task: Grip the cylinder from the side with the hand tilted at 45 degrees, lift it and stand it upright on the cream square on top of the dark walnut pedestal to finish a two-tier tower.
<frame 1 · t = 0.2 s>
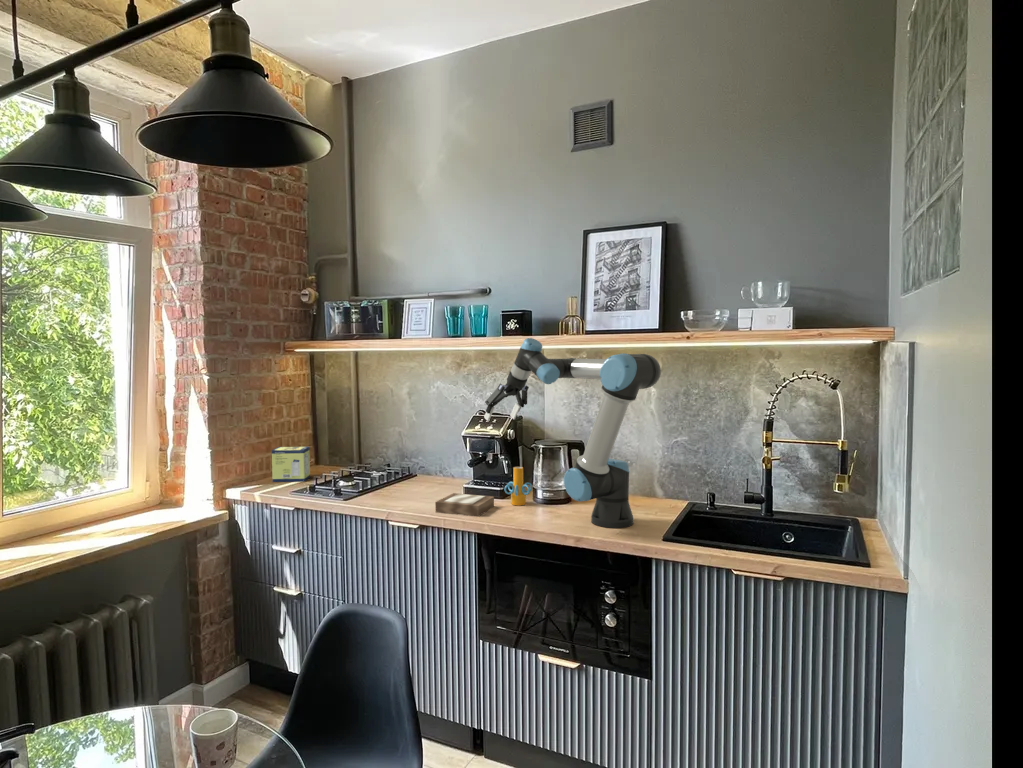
hand: (499, 418, 247), 35 cm above the worktop, tool tilted 35°, fingers open, 13 cm apart
pedestal: (465, 509, 241), on the worktop
cylinder: (518, 504, 249), on the worktop
protein box: (291, 480, 297), on the worktop
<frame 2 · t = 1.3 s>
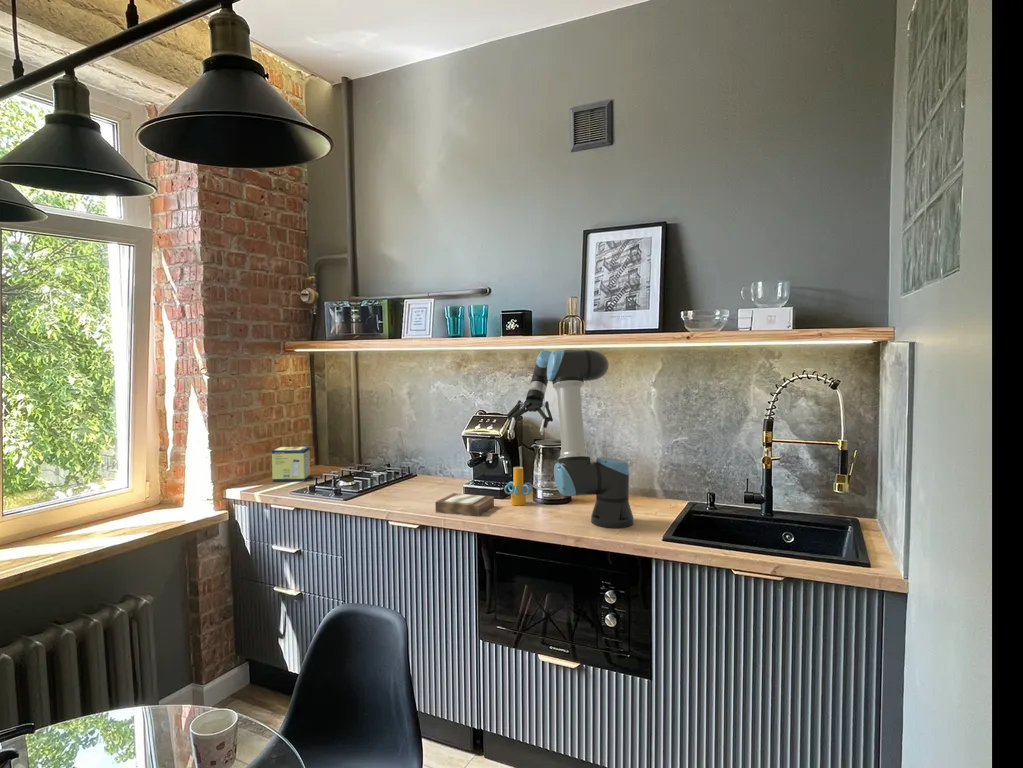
hand: (525, 432, 257), 28 cm above the worktop, tool tilted 45°, fingers open, 13 cm apart
nothing on the worktop moved.
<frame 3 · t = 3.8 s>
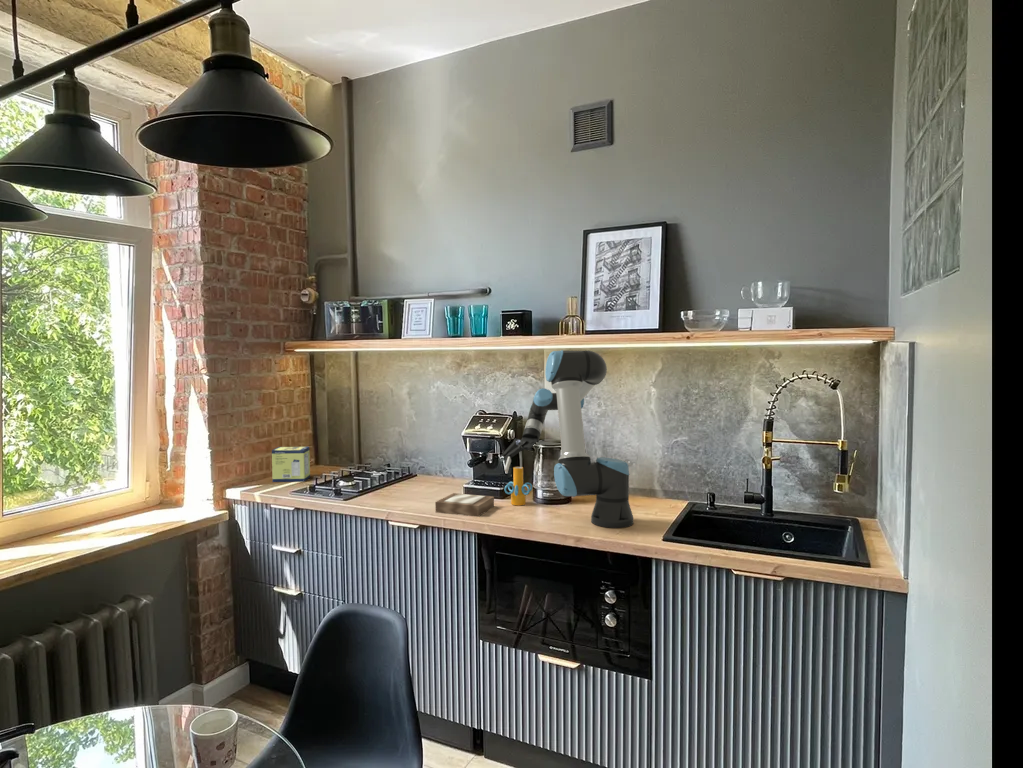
hand: (521, 472, 253), 12 cm above the worktop, tool tilted 45°, fingers open, 13 cm apart
nothing on the worktop moved.
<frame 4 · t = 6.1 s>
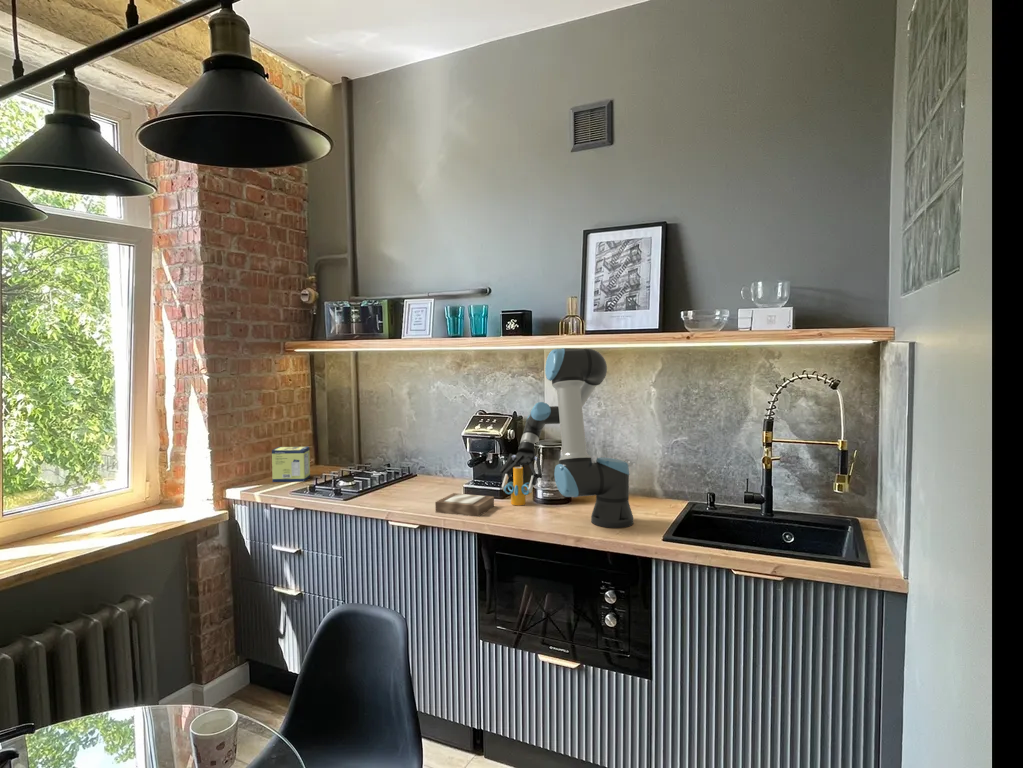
hand: (516, 490, 246), 6 cm above the worktop, tool tilted 45°, fingers closed on cylinder, 11 cm apart
cylinder: (518, 504, 249), on the worktop, touching gripper
everything else where it was.
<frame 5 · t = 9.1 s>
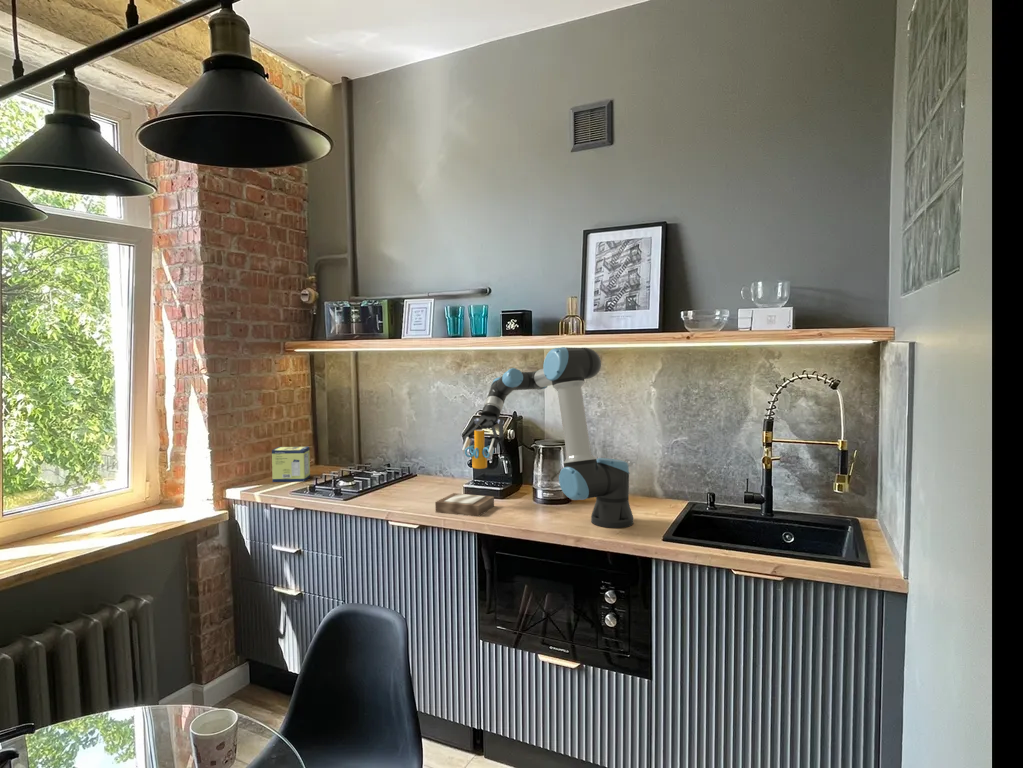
hand: (476, 452, 241), 22 cm above the worktop, tool tilted 45°, fingers closed on cylinder, 11 cm apart
cylinder: (479, 468, 244), point 16 cm above the worktop, touching gripper
everything else where it was.
when the fingers open (12 cm above the worktop, at t = 12.1 s): cylinder drops 1 cm, resting on pedestal.
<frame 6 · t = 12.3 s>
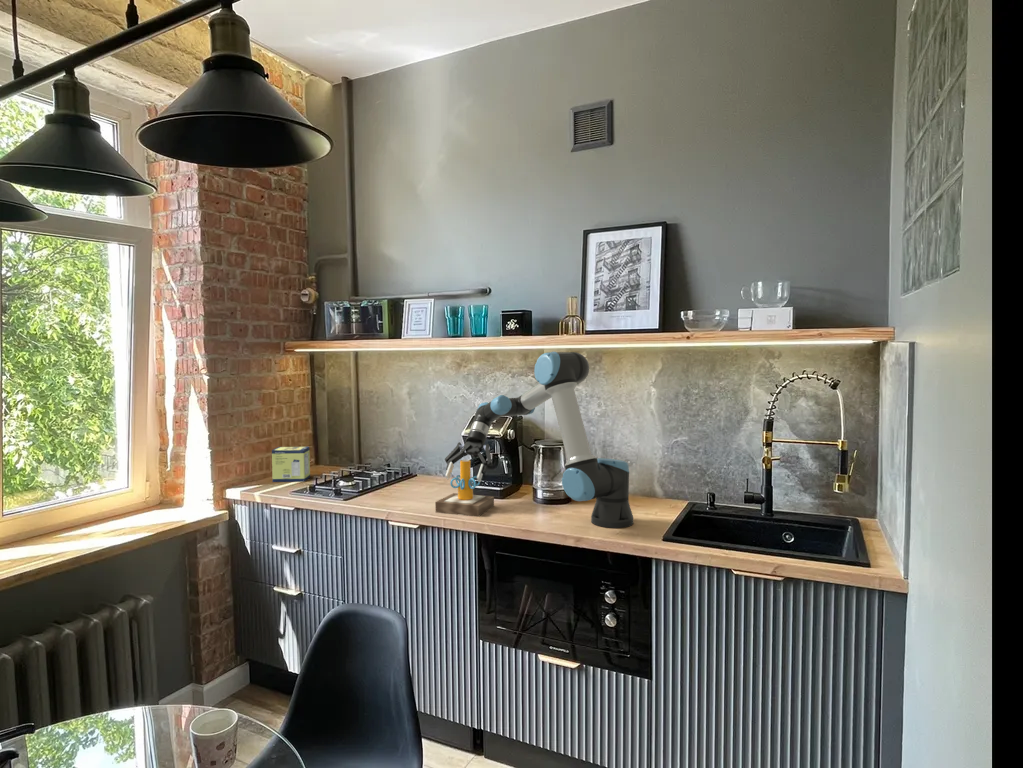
hand: (462, 478, 238), 13 cm above the worktop, tool tilted 45°, fingers open, 13 cm apart
cylinder: (465, 499, 240), point 4 cm above the worktop, touching pedestal
everything else where it was.
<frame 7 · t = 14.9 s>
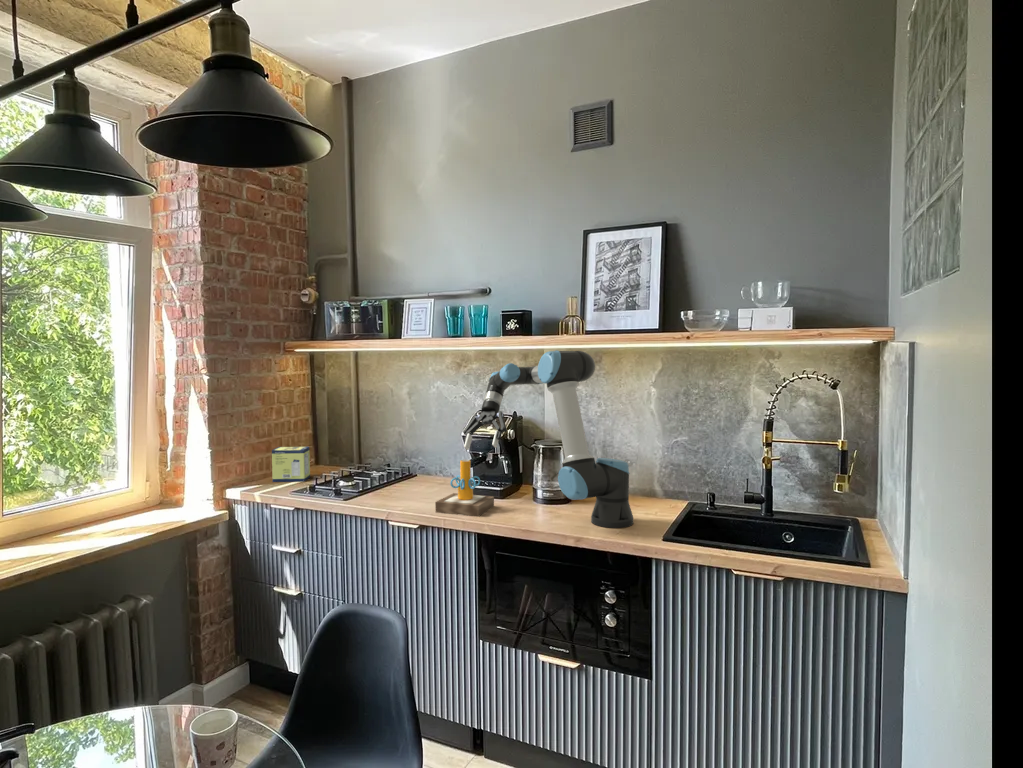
hand: (480, 447, 248), 23 cm above the worktop, tool tilted 40°, fingers open, 13 cm apart
nothing on the worktop moved.
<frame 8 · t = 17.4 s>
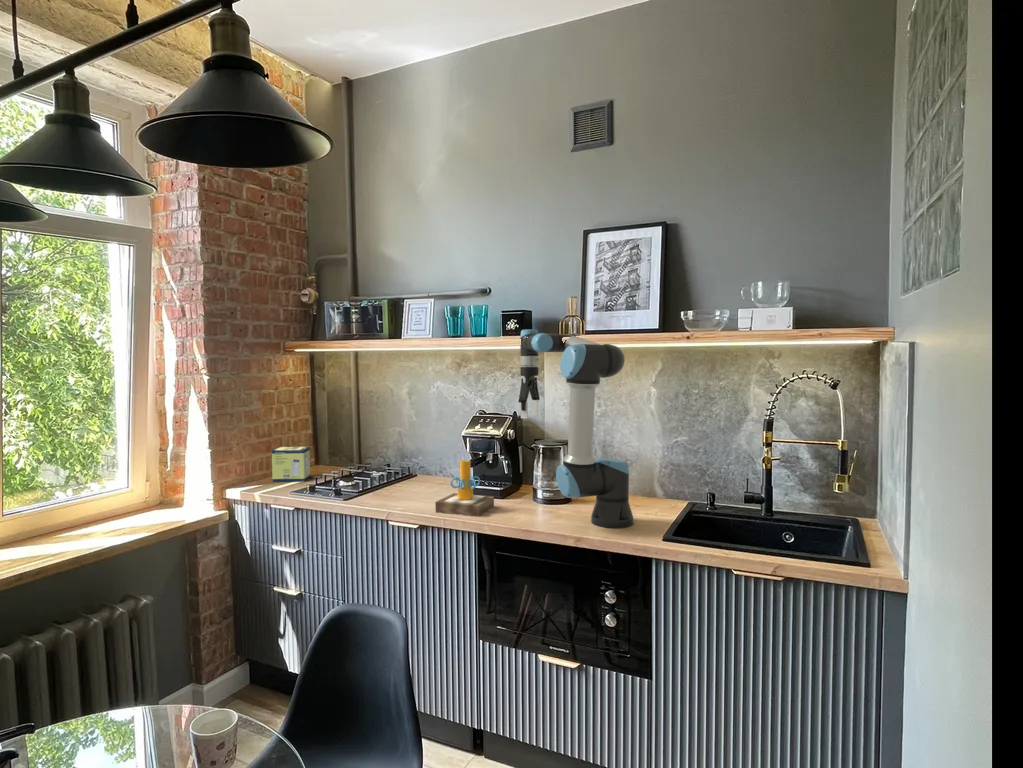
hand: (529, 416, 257), 35 cm above the worktop, tool pointing down, fingers open, 13 cm apart
nothing on the worktop moved.
at the end: cylinder inside the target area on the pedestal (0.2 cm from its centre), point 4.1 cm above the pedestal's base; cylinder tilted 0°; the gripper is holding nothing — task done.
